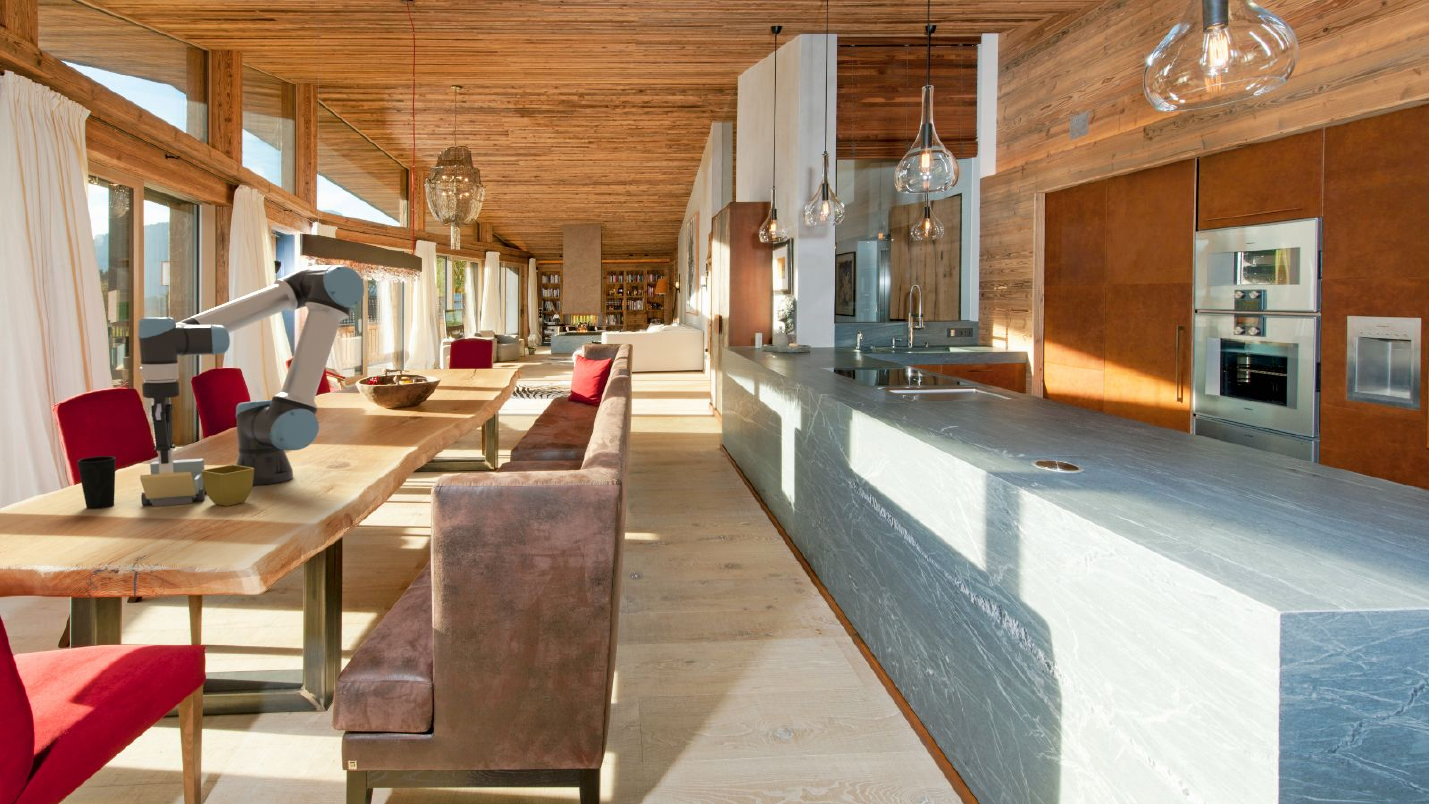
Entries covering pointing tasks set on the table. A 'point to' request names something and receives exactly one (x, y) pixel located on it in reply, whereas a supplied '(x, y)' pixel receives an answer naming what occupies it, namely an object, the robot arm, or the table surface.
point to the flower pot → (228, 484)
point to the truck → (179, 466)
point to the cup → (98, 481)
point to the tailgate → (168, 485)
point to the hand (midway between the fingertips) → (166, 475)
